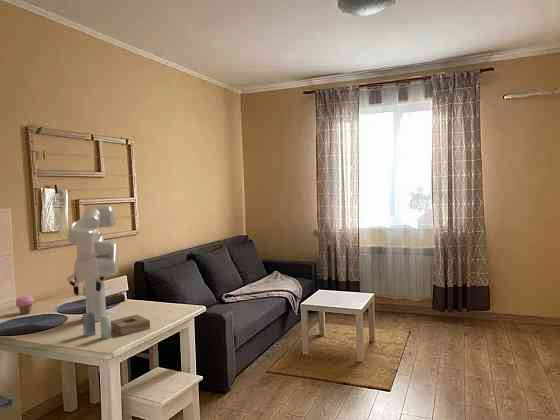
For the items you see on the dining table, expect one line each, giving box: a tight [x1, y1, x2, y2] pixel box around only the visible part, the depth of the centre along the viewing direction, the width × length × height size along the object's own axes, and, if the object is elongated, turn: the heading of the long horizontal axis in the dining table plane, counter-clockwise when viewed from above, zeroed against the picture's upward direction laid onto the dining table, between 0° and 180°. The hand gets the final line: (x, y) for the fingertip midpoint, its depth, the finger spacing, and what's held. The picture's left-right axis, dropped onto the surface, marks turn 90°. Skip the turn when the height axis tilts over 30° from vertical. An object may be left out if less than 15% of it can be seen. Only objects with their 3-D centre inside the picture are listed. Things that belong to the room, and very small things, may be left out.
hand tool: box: [105, 293, 126, 306], centre depth 249 cm, size 23×5×6 cm, turn 143°
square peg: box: [82, 312, 96, 338], centre depth 198 cm, size 4×4×10 cm
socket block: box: [111, 314, 151, 337], centre depth 205 cm, size 14×14×4 cm
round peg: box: [99, 314, 112, 340], centre depth 193 cm, size 4×4×10 cm
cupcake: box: [15, 295, 35, 315], centre depth 236 cm, size 9×9×10 cm
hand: (87, 292), depth 197 cm, fingers open, 9 cm apart
